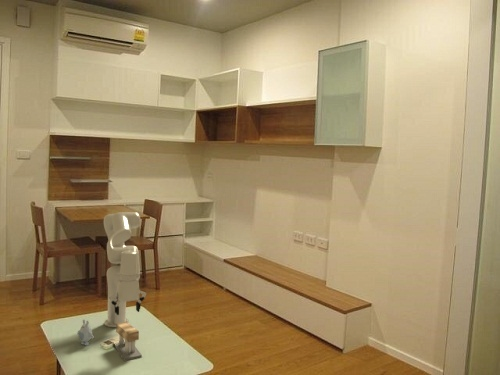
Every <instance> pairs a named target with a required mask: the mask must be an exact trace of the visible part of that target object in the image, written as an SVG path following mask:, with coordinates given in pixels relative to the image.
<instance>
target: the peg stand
mask: <svg viewBox="0 0 500 375" xmlns="http://www.w3.org/2000/svg"><path fill="white" fill-rule="evenodd" d="M118 335H119V334H118ZM118 338H119V339H118V341H119V343H118V344H116V345H115V346H114V348H115V349H116V350H117V352H118V354H119V355H120V356H121V358H122V360H123V361H124V362H125V361H131V360H134V359H139V358H142V357H143V356H142V354H141V352H140V351H139V349H138V348H137V347H136V340H135V341H131V342H128V341H126V340H125V339H124V338H123V337H122V336H120V335H119V336H118ZM124 340H125V342H124Z"/></svg>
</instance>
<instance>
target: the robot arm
mask: <svg viewBox="0 0 500 375" xmlns="http://www.w3.org/2000/svg"><path fill="white" fill-rule="evenodd" d="M141 222H142V219H141V216H140V214H139V212H136V211H119V212H116V213H109V214H106V215H104V218H103V227H104V230H105V231H104V232H105V234H106V236H107V239H108V240H107V243H106V252H107V260H108V262H110V264H117V265H115V266H111V267H109V268H108V269H107V271H106V280H107V281H106V282H107V318H106V319H105V320H104V326H106V327H108V328H116V324H118V323H122V322H127V323H129V319H128V318H127V317H126V316H127V311H126V310H127V302H133V301H136V303H135V310H136V312H138V313H139V312H140V310H141V304H142V302H143V301H144V300H145V298H146V296H147V292H145V291H142V290H140V284H139V283H140V282H139V281H140V279H141V266H140V265H141V264H140V253H139V249H138V247H137V246H135V245H125V242H127V241H128V240H130V239H131V237H132V233H133V232H132V230H135V229H138V228H140V226H141ZM118 264H119V265H118ZM140 295H141V296H140Z"/></svg>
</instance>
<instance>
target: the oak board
mask: <svg viewBox="0 0 500 375" xmlns="http://www.w3.org/2000/svg"><path fill="white" fill-rule="evenodd" d="M115 333H116V334H118V335H120V336H122V337H123V338H124V340H126V341H128V342H131V341H135V342H136V341H138V340H139V339H140V331H139V330H138V329H137V328H135V327H134V326H133V325H131V324H130V323H129V322H128V323H127V322H122V323H118V324H116V327H115Z"/></svg>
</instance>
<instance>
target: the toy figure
mask: <svg viewBox="0 0 500 375" xmlns="http://www.w3.org/2000/svg"><path fill="white" fill-rule="evenodd" d="M89 324H90V322H89V320H85V319H82V325H81V327H80V329H79V330H78V331H77V333H76V334H77V335H78V339H79V340H80V341H81V343H80V345H84V346H88V345H89V344H90V343H89V342H90V340H91V339H92V340H93V339H94V335H93V331H92V328H91V326H90V325H89Z"/></svg>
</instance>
